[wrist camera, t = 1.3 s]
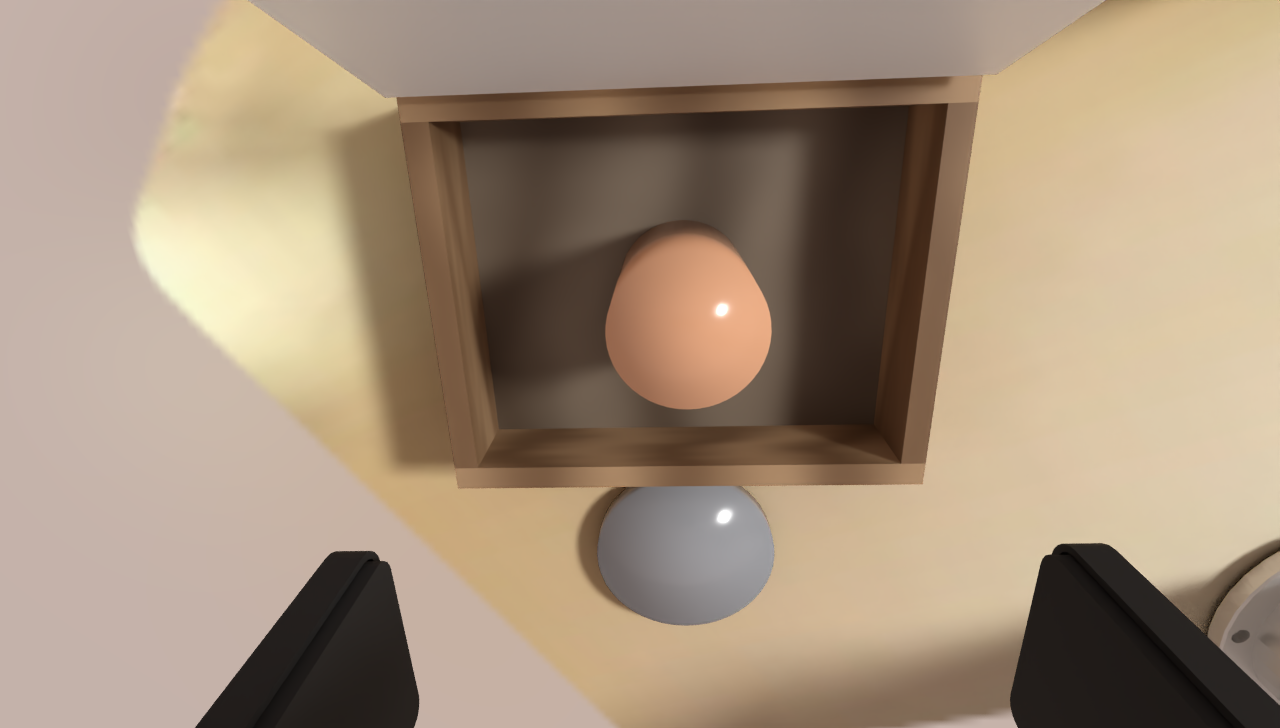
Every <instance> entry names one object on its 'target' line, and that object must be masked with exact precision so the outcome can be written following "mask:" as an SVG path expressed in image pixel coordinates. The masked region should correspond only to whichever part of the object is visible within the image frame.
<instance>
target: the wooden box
mask: <svg viewBox="0 0 1280 728" xmlns="http://www.w3.org/2000/svg"><path fill="white" fill-rule="evenodd" d="M981 82H982V75H970V76H944V77H917V78H891V79H865V80H838V81H812V82H786V83H759V84H733V85H707V86H680V87H654V88H627V89H601V90H575V91H548V92H522V93H496V94H469V95H443V96H417V97H397V104H398V110H399V116H400V123H401V129H402V135H403V142H404V148H405V154H406V161H407V167H408V173H409V180H410V186H411V192H412V199H413V205H414V212H415V218H416V224H417V231H418V237H419V243H420V250H421V256H422V262H423V269H424V275H425V281H426V288H427V294H428V300H429V307H430V313H431V319H432V326H433V332H434V338H435V345H436V351H437V357H438V364H439V370H440V376H441V383H442V389H443V395H444V402H445V408H446V414H447V421H448V427H449V433H450V440H451V446H452V452H453V459H454V465H455V471H456V478H457V484H458V488H555V487H666V486H777V485H888V484H923V477H924V470H925V463H926V456H927V450H928V443H929V436H930V429H931V422H932V415H933V409H934V402H935V395H936V388H937V381H938V375H939V368H940V361H941V354H942V347H943V341H944V334H945V327H946V320H947V313H948V306H949V300H950V293H951V286H952V279H953V272H954V266H955V259H956V252H957V245H958V238H959V231H960V225H961V218H962V211H963V204H964V197H965V191H966V184H967V177H968V170H969V163H970V157H971V150H972V143H973V136H974V129H975V122H976V116H977V109H978V102H979V95H980V88H981ZM677 220H691V221H697V222H701V223H704V224H707V225H709V226H712V227H714V228H716V229H717V230H719V231H720V232H722V233H723V234H724V235H725V236H726V237H728V238H729V239H730V241H731V242H732V243H733V244H734V245H735V247H736V248H737V250H738V251H739V253H740V255H741V257H742V258H743V260H744V262H745V264H746V265H747V267H748V269H749V271H750V272H751V274H752V276H753V278H754V279H755V281H756V283H757V285H758V286H759V288H760V290H761V292H762V294H763V296H764V298H765V300H766V302H767V305H768V308H769V312H770V317H771V330H772V333H771V342H770V346H769V350H768V354H767V356H766V359H765V361H764V363H763V365H762V367H761V369H760V370H759V372H758V373H757V375H756V376H755V377H754V379H753V380H752V381H751V382H750V383H749V384H748V385H747V386H746V387H745V388H744V389H743V390H741V391H740V392H739V393H738V394H736V395H734V396H733V397H731V398H730V399H728V400H726V401H723V402H721V403H719V404H716V405H713V406H710V407H705V408H700V409H675V408H669V407H665V406H662V405H658V404H656V403H653V402H651V401H649V400H647V399H645V398H644V397H642V396H640V395H639V394H637V393H636V392H635V391H634V390H632V389H631V388H630V387H629V386H628V385H627V384H626V383H625V382H624V381H623V379H622V378H621V377H620V376H619V374H618V373H617V371H616V369H615V367H614V366H613V364H612V361H611V359H610V356H609V353H608V349H607V345H606V337H605V326H606V319H607V314H608V310H609V307H610V304H611V300H612V297H613V294H614V290H615V287H616V283H617V280H618V277H619V273H620V270H621V267H622V263H623V261H624V258H625V256H626V254H627V252H628V251H629V249H630V248H631V246H632V245H633V244H634V243H635V241H636V240H637V239H638V238H639V237H640V236H642V235H643V234H644V233H645V232H647V231H648V230H650V229H652V228H654V227H655V226H658V225H660V224H663V223H666V222H670V221H677Z"/></svg>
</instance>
